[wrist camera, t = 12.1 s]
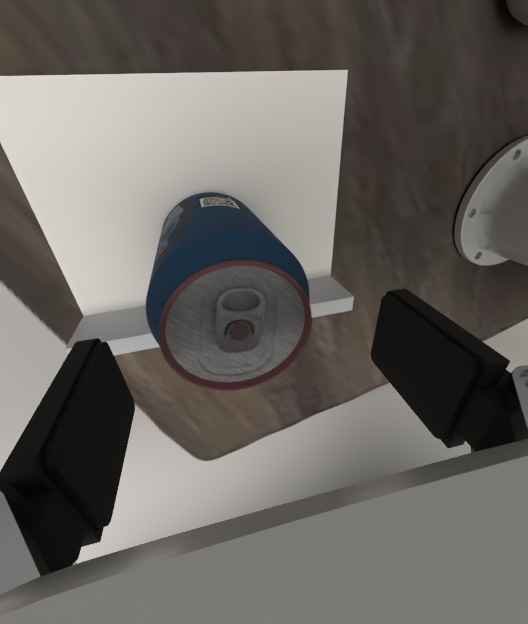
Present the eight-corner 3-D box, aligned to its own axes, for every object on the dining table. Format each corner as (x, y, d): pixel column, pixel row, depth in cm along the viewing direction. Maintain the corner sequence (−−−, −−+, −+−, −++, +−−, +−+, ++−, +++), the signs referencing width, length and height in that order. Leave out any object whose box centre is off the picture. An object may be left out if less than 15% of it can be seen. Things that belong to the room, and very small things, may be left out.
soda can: (254, 283, 23) (309, 391, 13) (165, 284, 21) (150, 411, 11) (262, 192, 19) (346, 246, 9) (156, 185, 18) (123, 241, 8)
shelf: (326, 78, 19) (388, 52, 14) (316, 274, 27) (351, 310, 22) (2, 86, 16) (-101, 55, 10) (99, 309, 24) (73, 363, 18)
